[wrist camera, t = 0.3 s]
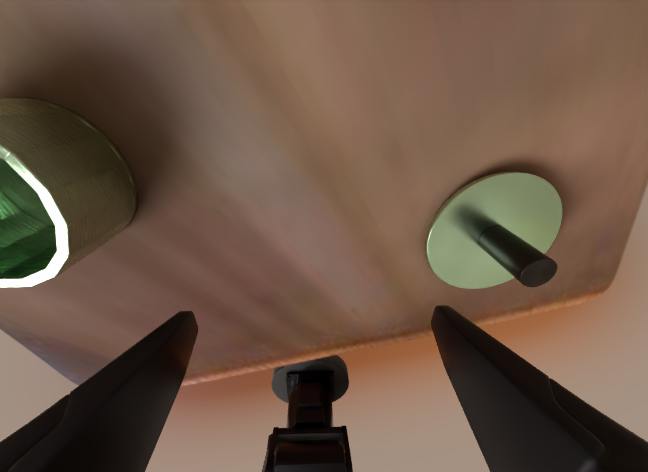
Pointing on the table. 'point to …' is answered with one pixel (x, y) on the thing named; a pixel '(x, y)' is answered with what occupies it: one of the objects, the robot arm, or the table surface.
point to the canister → (56, 190)
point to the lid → (496, 232)
